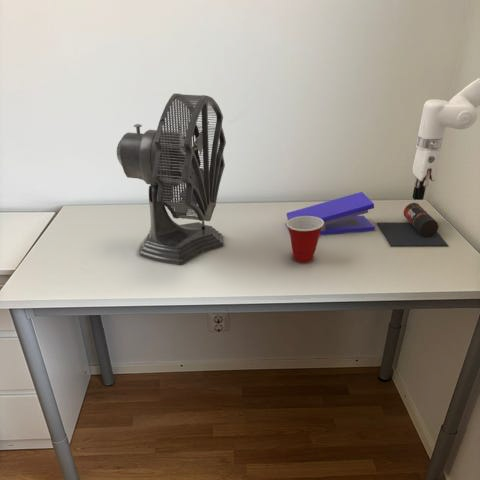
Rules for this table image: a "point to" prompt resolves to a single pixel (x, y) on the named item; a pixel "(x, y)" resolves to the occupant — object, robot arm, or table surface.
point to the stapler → (340, 214)
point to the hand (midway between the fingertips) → (417, 198)
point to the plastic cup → (304, 236)
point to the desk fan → (178, 178)
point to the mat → (408, 235)
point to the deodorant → (421, 220)
